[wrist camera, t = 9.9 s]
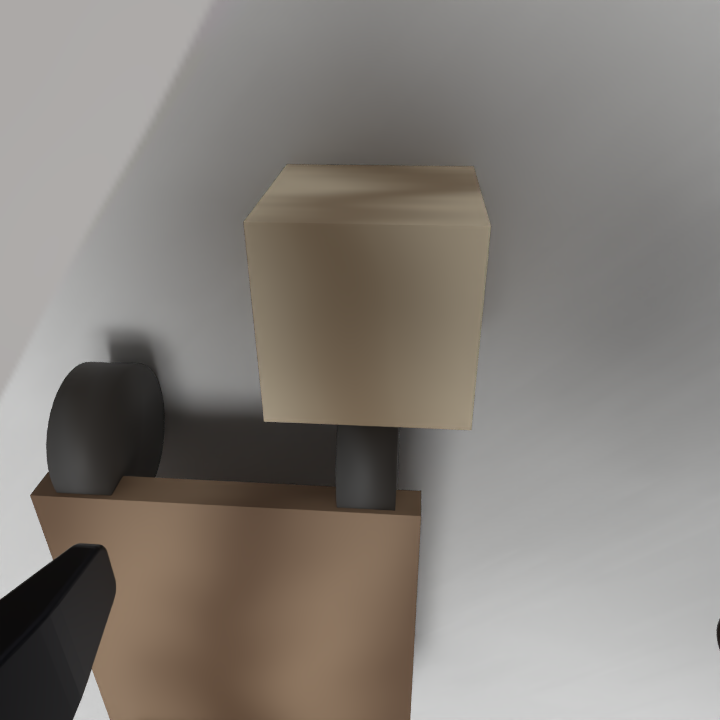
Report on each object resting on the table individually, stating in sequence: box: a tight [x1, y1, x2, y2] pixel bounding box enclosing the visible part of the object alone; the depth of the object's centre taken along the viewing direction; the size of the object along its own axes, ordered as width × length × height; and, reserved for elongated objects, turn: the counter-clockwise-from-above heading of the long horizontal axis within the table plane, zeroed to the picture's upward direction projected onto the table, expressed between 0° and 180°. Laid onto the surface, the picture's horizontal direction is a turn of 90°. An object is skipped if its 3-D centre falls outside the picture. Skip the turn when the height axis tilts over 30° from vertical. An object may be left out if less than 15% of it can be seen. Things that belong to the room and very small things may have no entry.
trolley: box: [30, 362, 421, 720], centre depth 21 cm, size 11×17×8 cm, turn 0°
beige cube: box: [243, 164, 491, 430], centre depth 16 cm, size 5×5×5 cm
